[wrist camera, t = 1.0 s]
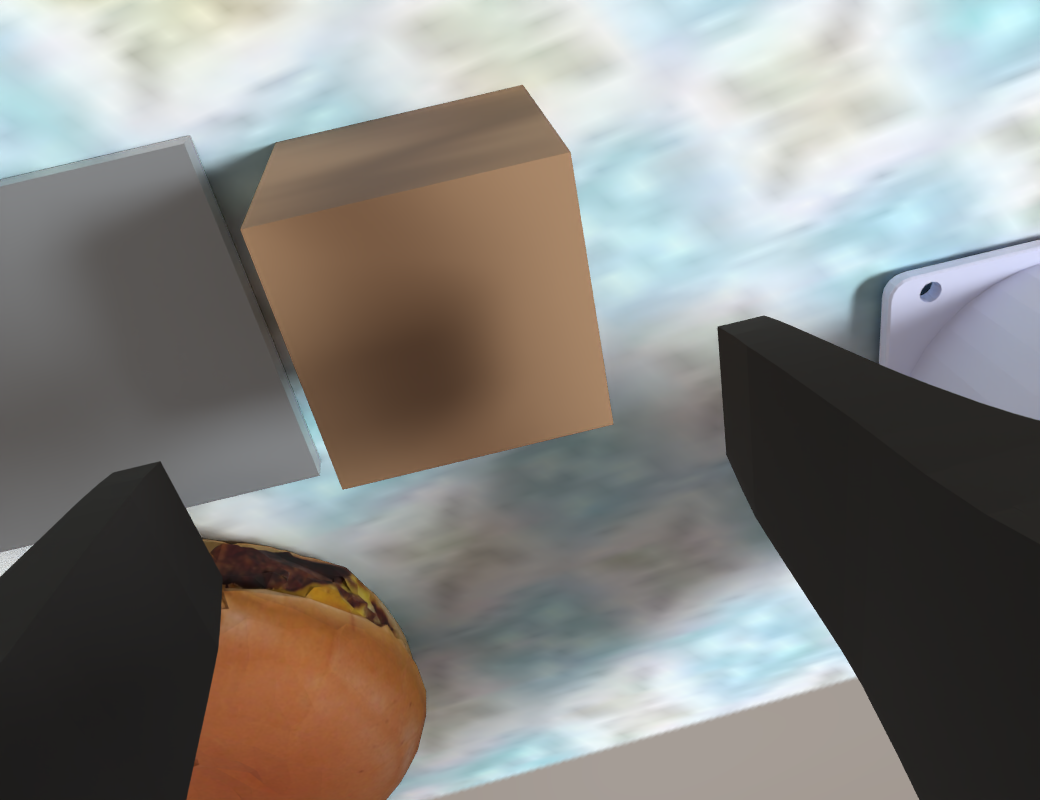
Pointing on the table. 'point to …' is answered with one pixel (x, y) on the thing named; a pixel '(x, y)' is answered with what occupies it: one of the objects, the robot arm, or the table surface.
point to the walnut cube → (432, 284)
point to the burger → (305, 685)
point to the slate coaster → (132, 342)
